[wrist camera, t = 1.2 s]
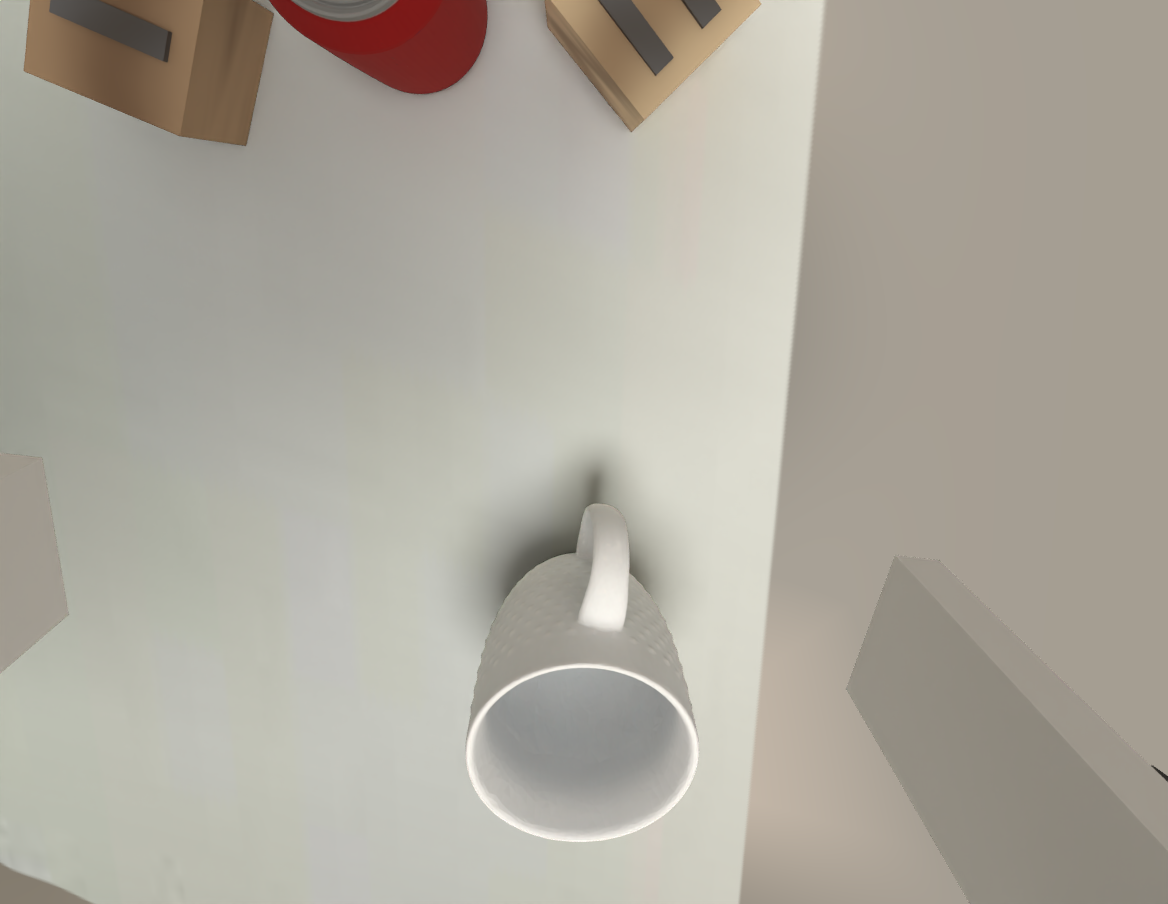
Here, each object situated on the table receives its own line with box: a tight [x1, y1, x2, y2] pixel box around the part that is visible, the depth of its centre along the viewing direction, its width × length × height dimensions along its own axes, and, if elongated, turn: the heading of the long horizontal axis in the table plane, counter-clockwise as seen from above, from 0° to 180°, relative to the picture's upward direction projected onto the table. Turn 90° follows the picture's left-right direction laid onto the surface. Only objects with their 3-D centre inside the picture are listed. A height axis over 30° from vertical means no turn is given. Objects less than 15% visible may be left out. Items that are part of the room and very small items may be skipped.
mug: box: [466, 504, 699, 842], centre depth 36 cm, size 15×11×13 cm
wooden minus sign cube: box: [24, 0, 274, 146], centre depth 28 cm, size 6×6×6 cm
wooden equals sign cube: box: [545, 0, 761, 132], centre depth 28 cm, size 6×6×6 cm
